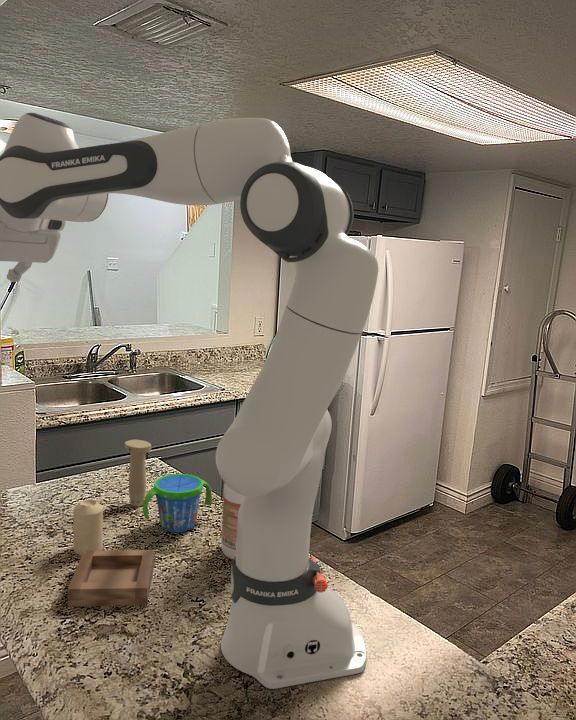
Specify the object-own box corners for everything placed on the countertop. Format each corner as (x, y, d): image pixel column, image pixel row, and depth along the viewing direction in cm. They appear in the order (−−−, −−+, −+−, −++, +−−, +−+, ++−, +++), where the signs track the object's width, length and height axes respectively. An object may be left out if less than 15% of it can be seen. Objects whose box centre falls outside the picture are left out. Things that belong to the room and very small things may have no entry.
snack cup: (149, 543, 122) (150, 497, 120) (135, 522, 131) (136, 478, 129) (219, 530, 130) (221, 486, 128) (202, 510, 139) (203, 469, 137)
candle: (93, 558, 115) (93, 509, 114) (68, 553, 117) (67, 505, 115) (107, 544, 121) (108, 498, 119) (83, 540, 122) (82, 494, 120)
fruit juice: (225, 537, 127) (230, 410, 122) (269, 541, 126) (276, 414, 121) (217, 560, 117) (222, 423, 112) (264, 564, 117) (272, 427, 112)
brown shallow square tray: (154, 565, 114) (154, 549, 114) (147, 605, 101) (147, 588, 101) (84, 566, 112) (84, 550, 112) (67, 606, 100) (67, 589, 99)
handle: (138, 511, 136) (139, 449, 134) (119, 503, 140) (120, 442, 137) (154, 505, 140) (155, 444, 138) (135, 497, 144) (136, 438, 141)
